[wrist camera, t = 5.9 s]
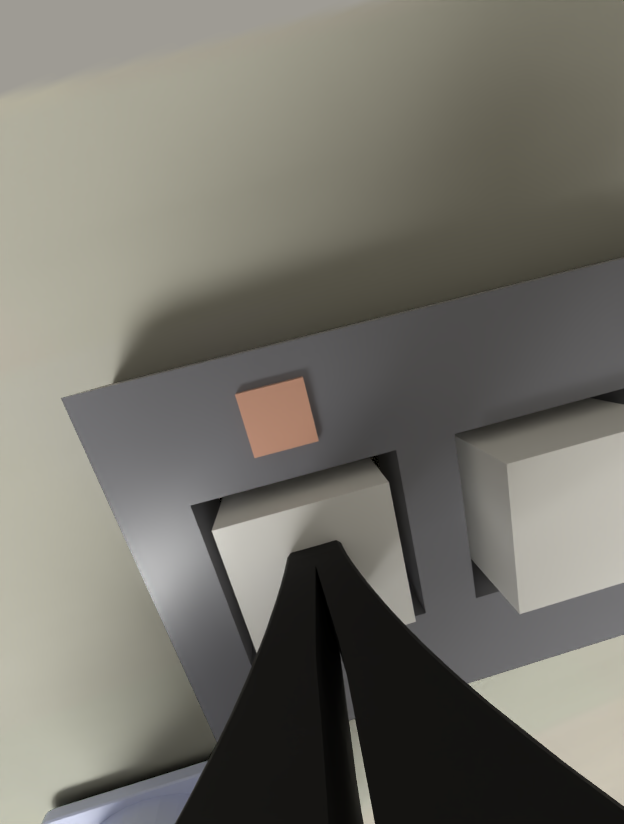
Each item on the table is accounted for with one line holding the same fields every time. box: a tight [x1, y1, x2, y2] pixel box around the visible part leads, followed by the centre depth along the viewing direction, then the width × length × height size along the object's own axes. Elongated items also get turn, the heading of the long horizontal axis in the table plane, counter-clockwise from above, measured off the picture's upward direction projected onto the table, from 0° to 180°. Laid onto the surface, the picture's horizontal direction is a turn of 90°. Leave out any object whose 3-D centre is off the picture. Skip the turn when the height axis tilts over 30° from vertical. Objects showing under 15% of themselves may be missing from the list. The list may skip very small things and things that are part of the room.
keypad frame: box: [61, 257, 624, 742], centre depth 10 cm, size 12×23×2 cm, turn 103°
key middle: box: [455, 398, 624, 614], centre depth 9 cm, size 4×4×2 cm
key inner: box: [212, 457, 416, 653], centre depth 9 cm, size 4×4×2 cm
